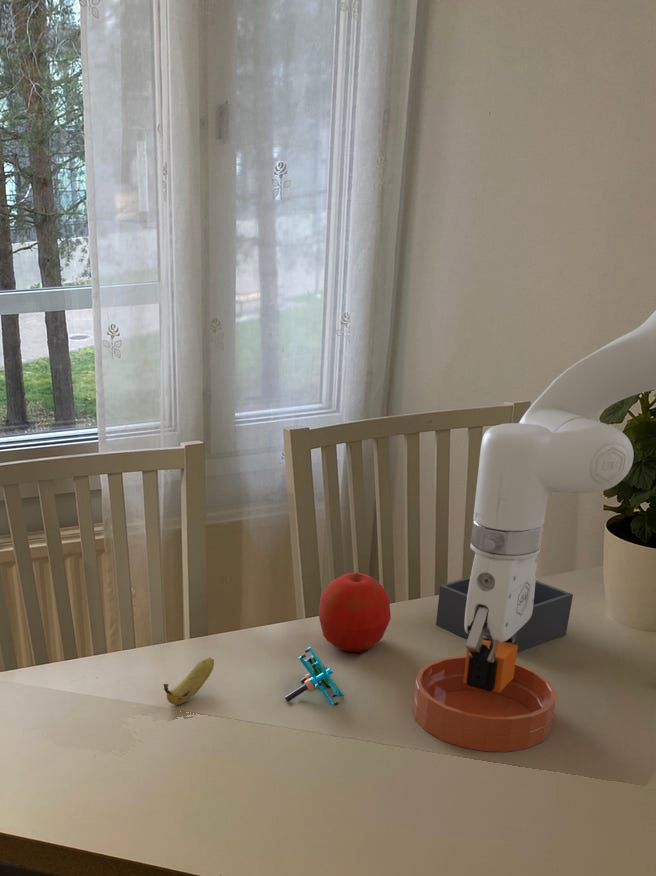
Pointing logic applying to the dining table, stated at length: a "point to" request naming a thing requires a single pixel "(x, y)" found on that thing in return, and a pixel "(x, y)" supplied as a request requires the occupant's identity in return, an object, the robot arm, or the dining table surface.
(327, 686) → the teal plastic assembly
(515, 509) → the robot arm
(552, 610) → the bin
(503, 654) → the block
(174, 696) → the banana
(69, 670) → the dining table surface
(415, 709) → the bowl
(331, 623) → the apple
